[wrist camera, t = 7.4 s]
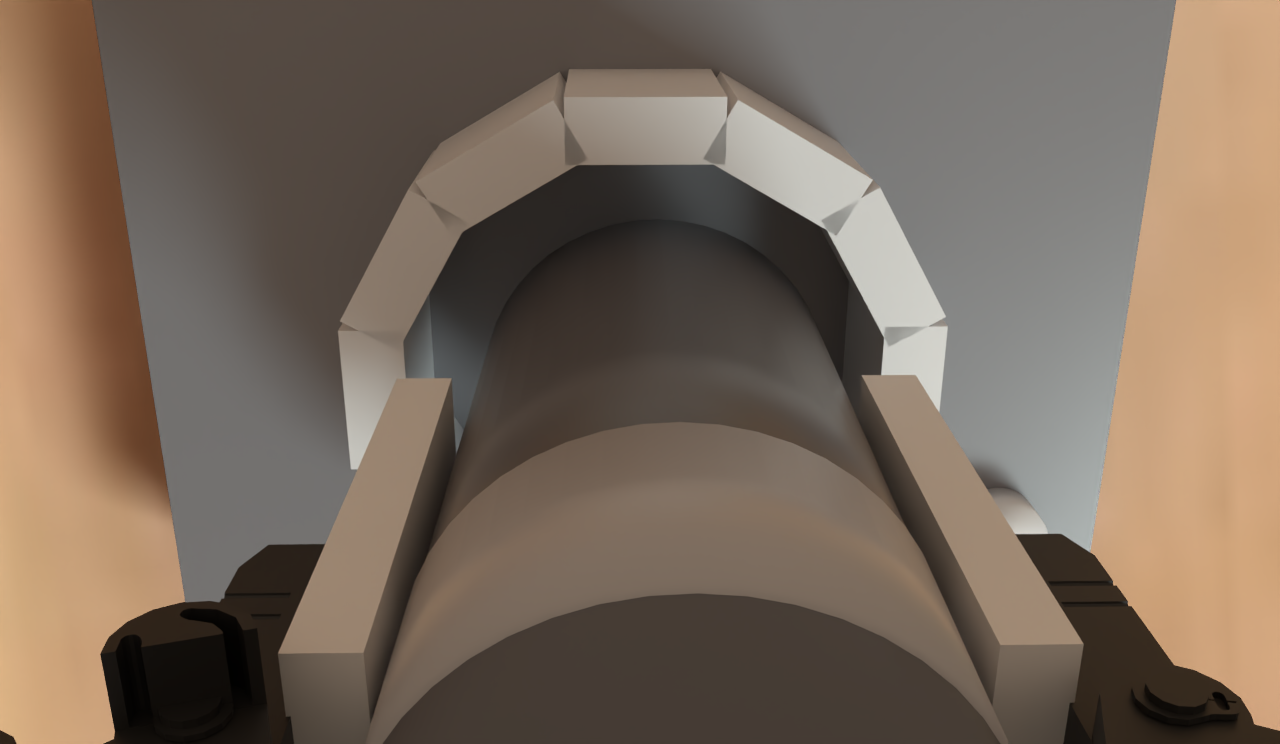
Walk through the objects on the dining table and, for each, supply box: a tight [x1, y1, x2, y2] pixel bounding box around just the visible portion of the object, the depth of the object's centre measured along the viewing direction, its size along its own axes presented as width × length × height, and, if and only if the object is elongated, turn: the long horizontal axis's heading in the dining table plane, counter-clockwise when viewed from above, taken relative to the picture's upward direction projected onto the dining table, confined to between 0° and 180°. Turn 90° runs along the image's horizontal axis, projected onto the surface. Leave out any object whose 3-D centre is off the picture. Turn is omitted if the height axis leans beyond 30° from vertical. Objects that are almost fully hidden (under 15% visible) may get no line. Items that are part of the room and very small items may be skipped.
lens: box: [365, 219, 1009, 744], centre depth 14 cm, size 6×6×14 cm
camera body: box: [92, 0, 1176, 602], centre depth 23 cm, size 18×12×6 cm, turn 90°
